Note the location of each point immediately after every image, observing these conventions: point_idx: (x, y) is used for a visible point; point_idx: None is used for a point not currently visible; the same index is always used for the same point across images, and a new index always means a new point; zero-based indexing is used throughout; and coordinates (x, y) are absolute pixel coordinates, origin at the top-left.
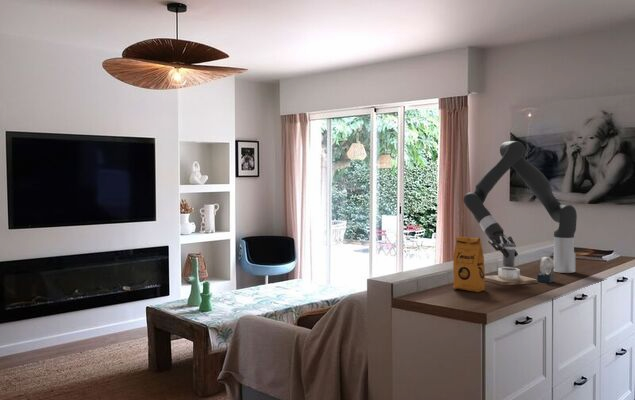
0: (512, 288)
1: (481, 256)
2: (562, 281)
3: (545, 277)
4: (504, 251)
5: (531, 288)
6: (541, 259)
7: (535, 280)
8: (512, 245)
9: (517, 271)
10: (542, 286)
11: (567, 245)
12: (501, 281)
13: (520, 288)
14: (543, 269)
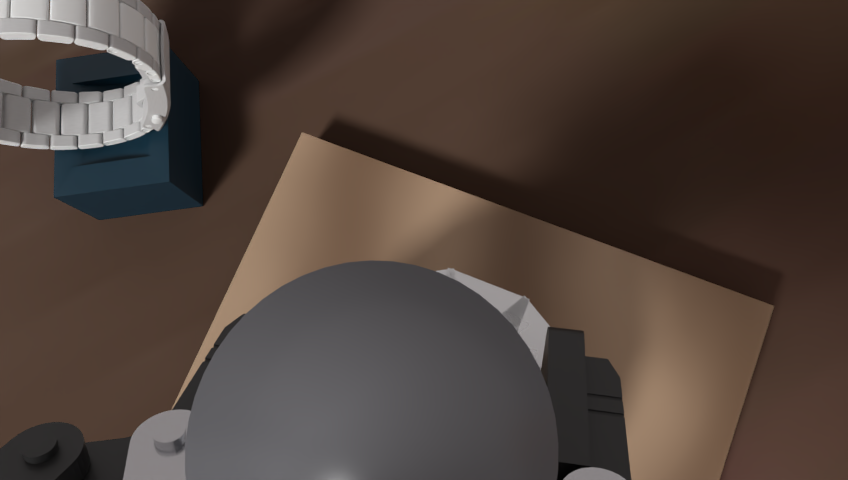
0: (816, 141)
1: None
2: (36, 44)
3: (177, 101)
4: (616, 430)
5: (644, 24)
6: (73, 30)
7: (328, 143)
8: (436, 278)
9: (452, 271)
10: (452, 18)
11: None
12: (753, 336)
13: (741, 90)
14: (169, 60)
